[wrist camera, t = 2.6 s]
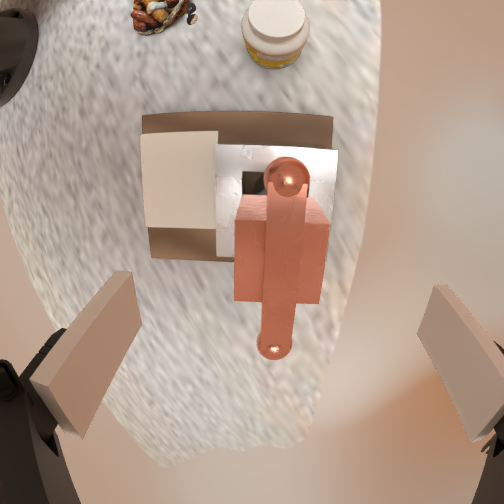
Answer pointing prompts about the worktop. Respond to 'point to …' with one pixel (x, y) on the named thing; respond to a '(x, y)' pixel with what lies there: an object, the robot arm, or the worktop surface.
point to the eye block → (256, 160)
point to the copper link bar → (279, 251)
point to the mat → (179, 179)
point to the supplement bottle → (275, 32)
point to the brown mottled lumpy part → (160, 14)
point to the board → (246, 129)
